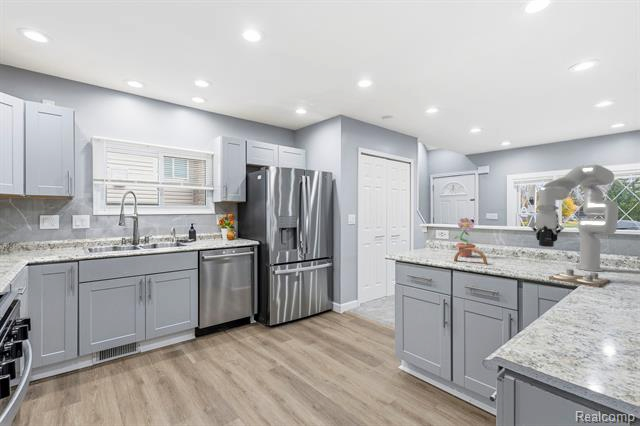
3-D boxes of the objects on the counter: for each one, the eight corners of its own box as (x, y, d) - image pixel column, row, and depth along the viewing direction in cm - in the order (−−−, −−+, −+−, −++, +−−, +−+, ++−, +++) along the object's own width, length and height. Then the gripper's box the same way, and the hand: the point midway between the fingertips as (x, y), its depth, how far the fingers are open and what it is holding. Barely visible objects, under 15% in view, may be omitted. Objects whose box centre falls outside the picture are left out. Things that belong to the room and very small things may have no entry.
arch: (485, 265, 201) (485, 250, 201) (453, 261, 213) (453, 247, 213) (487, 263, 205) (487, 249, 205) (456, 260, 218) (456, 246, 218)
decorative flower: (455, 257, 231) (455, 218, 231) (453, 254, 244) (453, 217, 244) (477, 258, 227) (477, 218, 226) (473, 255, 240) (473, 217, 239)
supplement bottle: (547, 247, 166) (547, 225, 165) (535, 245, 172) (536, 224, 172) (557, 246, 167) (557, 225, 167) (545, 245, 174) (545, 224, 174)
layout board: (562, 274, 171) (562, 267, 171) (610, 281, 154) (610, 273, 154) (548, 279, 160) (549, 271, 160) (598, 287, 144) (599, 278, 144)
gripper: (568, 209, 164) (568, 241, 164) (532, 208, 179) (532, 238, 179) (563, 209, 160) (562, 242, 160) (526, 208, 175) (526, 239, 175)
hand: (546, 240), depth 170 cm, fingers closed on supplement bottle, 6 cm apart
